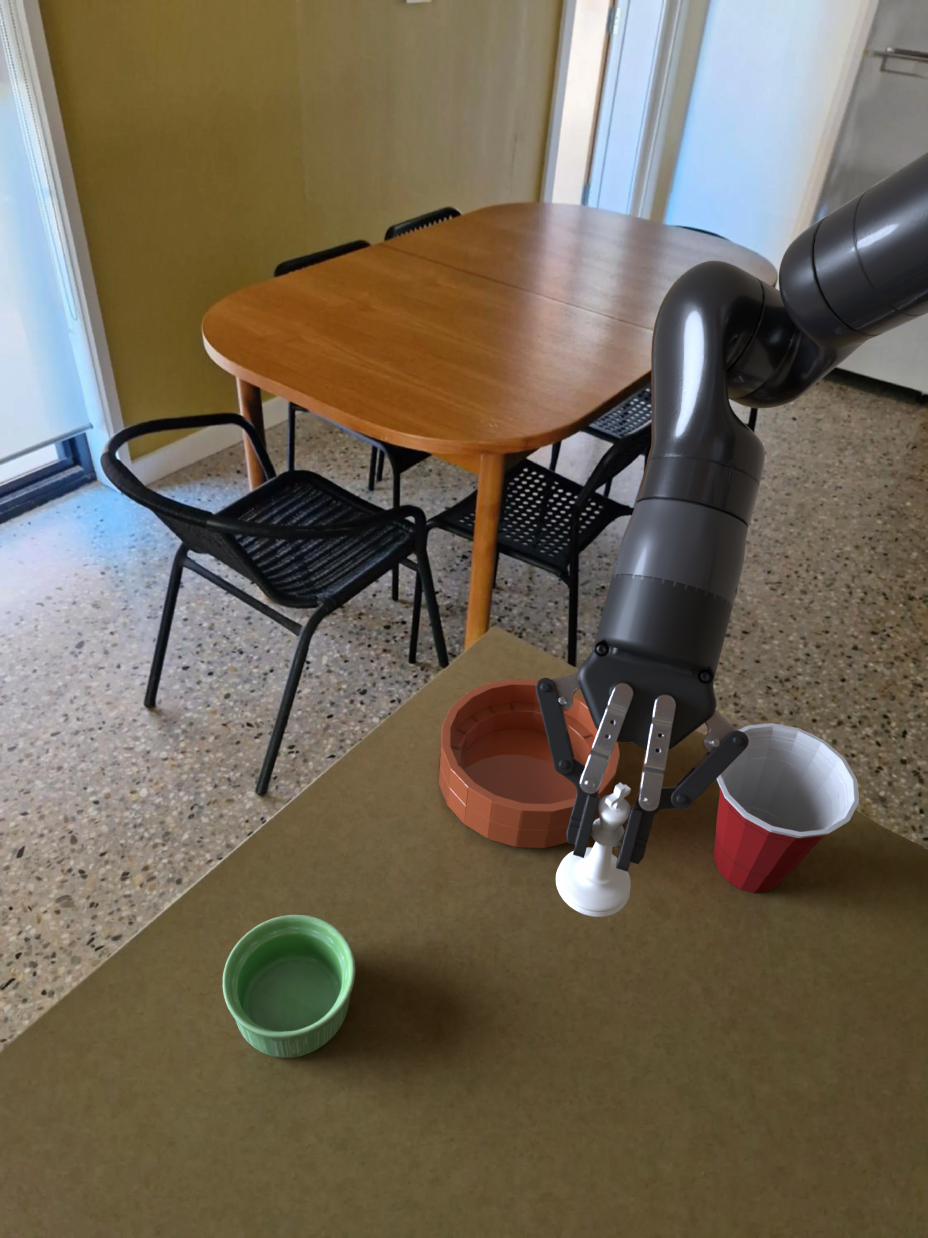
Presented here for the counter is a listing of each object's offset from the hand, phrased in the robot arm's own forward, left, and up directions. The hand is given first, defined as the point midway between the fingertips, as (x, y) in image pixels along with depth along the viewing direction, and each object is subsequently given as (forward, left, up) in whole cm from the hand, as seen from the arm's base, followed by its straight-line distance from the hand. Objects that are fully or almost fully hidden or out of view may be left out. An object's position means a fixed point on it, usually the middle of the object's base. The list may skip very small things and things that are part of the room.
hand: (600, 860), depth 54 cm
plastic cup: (-6, -20, -18) cm, 28 cm away
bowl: (+14, -16, -18) cm, 28 cm away
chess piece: (+1, -2, -6) cm, 6 cm away
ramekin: (+16, +12, -18) cm, 27 cm away
